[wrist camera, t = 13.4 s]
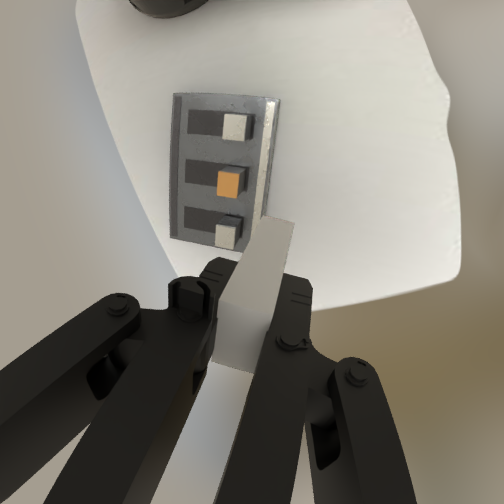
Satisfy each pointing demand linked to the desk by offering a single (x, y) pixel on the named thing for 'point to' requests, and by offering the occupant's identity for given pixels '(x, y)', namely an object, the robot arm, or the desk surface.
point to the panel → (219, 166)
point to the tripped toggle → (231, 181)
